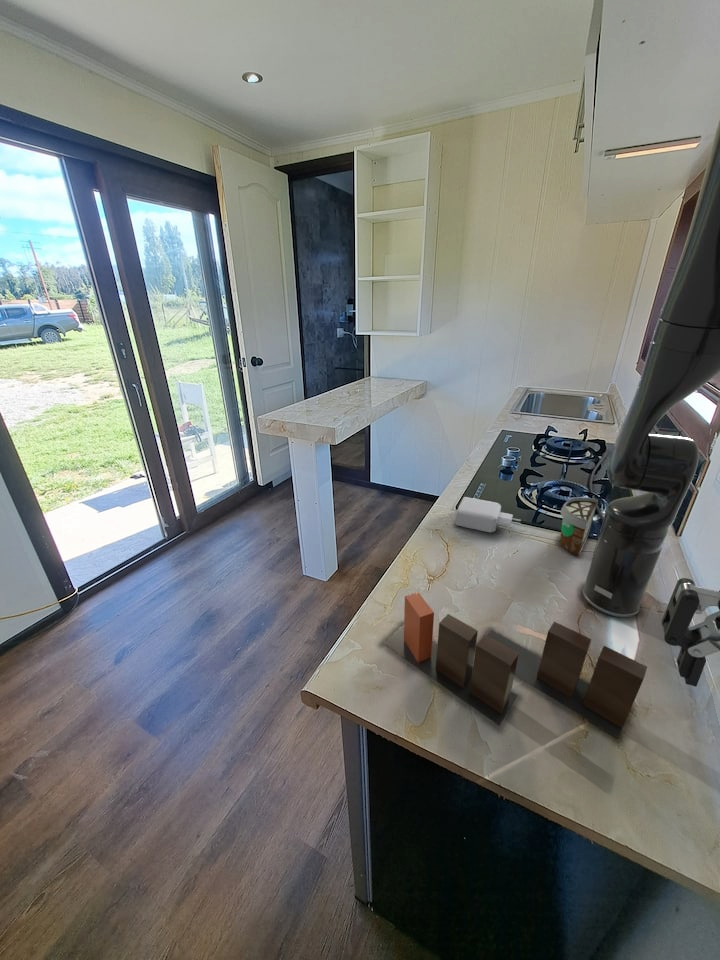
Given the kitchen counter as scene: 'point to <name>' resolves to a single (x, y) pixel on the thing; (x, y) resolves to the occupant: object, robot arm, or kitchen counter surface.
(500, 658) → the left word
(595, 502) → the food container
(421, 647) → the orange upright brick
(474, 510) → the charger
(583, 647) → the brown notched block
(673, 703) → the kitchen counter surface
